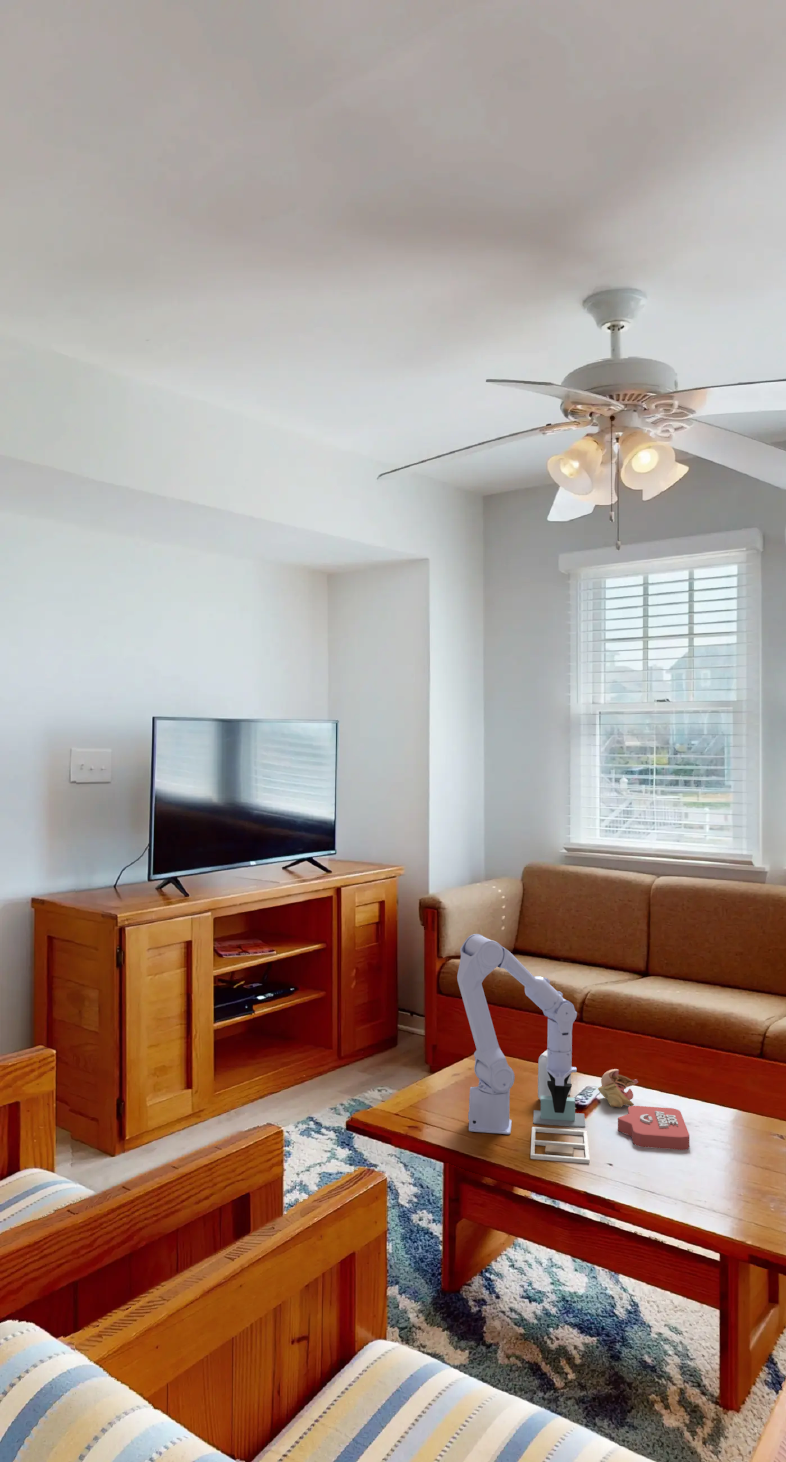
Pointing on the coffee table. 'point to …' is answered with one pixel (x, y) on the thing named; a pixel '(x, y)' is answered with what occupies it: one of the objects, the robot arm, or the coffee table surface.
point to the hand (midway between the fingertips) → (559, 1106)
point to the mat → (577, 1123)
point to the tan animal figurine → (616, 1088)
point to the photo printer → (545, 1077)
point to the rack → (560, 1158)
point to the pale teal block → (549, 1112)
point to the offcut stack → (559, 1150)
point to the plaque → (655, 1127)
